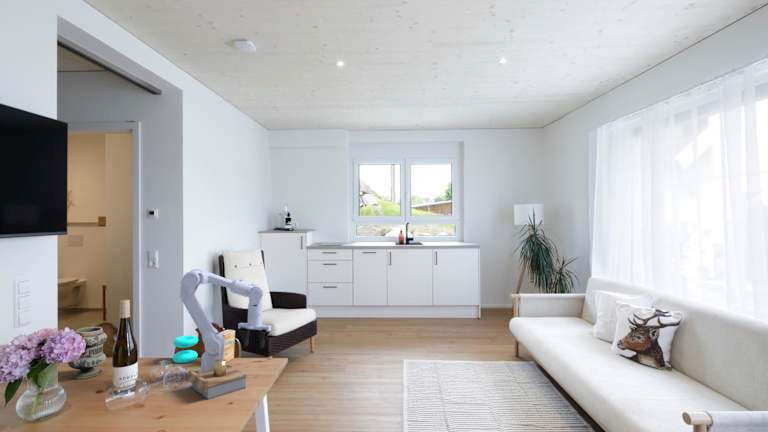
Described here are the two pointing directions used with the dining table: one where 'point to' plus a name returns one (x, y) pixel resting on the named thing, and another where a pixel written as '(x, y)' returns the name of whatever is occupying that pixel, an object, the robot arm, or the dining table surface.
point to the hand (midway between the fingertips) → (253, 346)
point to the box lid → (214, 378)
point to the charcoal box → (222, 388)
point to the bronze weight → (219, 368)
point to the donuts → (186, 354)
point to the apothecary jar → (90, 353)
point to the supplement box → (228, 344)
